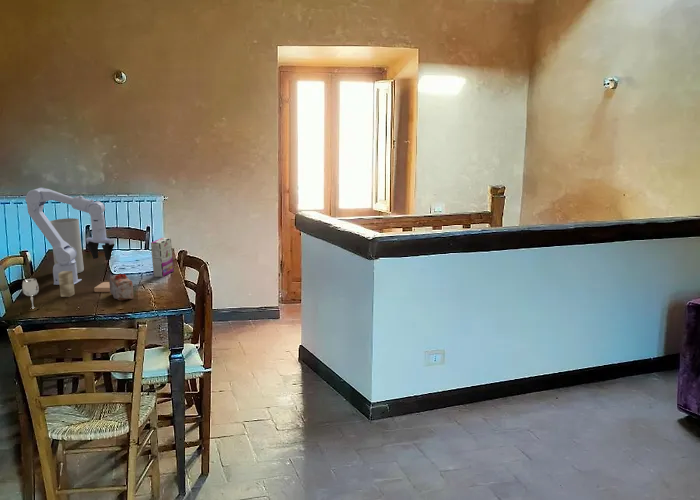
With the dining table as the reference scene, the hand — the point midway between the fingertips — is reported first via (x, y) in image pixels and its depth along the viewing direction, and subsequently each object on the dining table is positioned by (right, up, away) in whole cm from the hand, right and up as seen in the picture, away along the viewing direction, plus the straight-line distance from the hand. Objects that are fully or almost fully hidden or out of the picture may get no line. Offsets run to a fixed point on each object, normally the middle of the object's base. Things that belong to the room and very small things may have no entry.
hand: (102, 259), depth 296 cm
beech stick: (-7, -15, -19) cm, 25 cm away
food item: (+17, -16, -23) cm, 32 cm away
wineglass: (-13, -20, -38) cm, 44 cm away
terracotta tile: (+2, -12, -10) cm, 16 cm away
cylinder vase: (-23, -7, +20) cm, 31 cm away
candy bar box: (+24, -8, +14) cm, 28 cm away
